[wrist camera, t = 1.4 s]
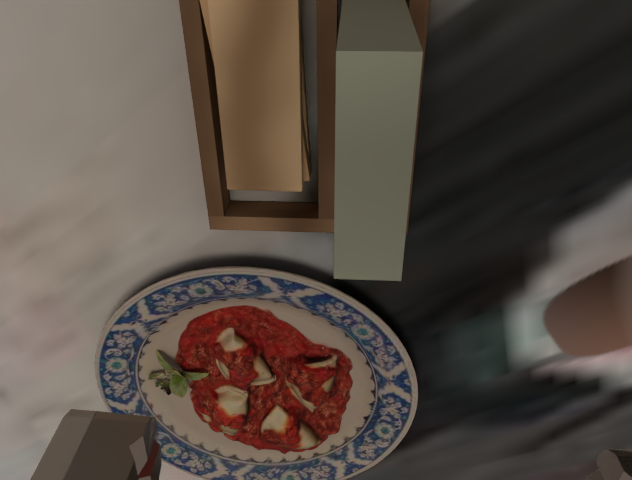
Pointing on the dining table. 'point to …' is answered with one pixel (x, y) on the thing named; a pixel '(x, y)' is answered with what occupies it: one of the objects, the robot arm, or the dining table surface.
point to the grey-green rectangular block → (374, 136)
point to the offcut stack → (260, 92)
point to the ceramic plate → (258, 375)
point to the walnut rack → (322, 213)
